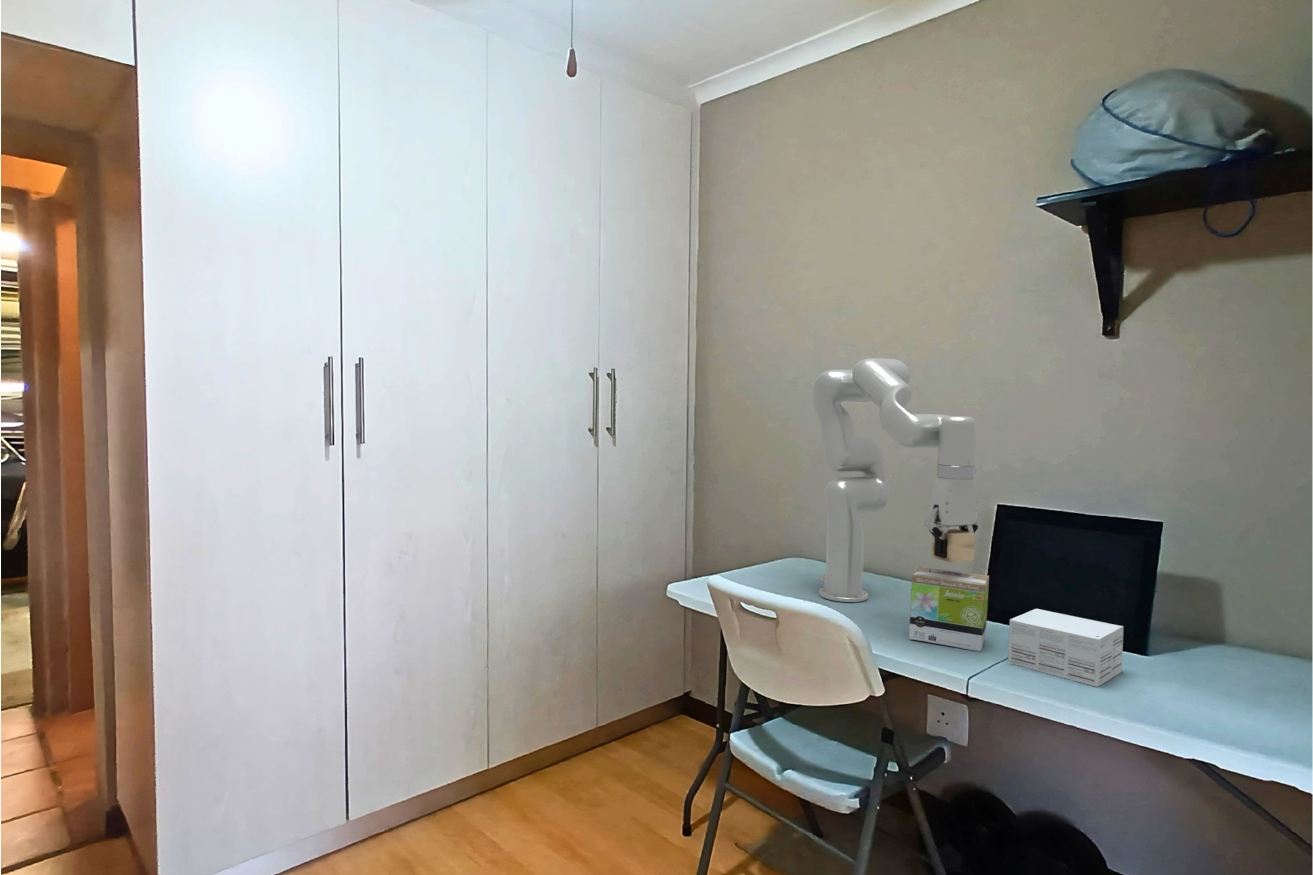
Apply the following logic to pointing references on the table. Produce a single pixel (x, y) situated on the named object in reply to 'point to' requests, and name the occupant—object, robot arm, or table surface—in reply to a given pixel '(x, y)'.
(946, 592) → the tea box
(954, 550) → the oak block
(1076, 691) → the table surface
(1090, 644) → the supplement box
